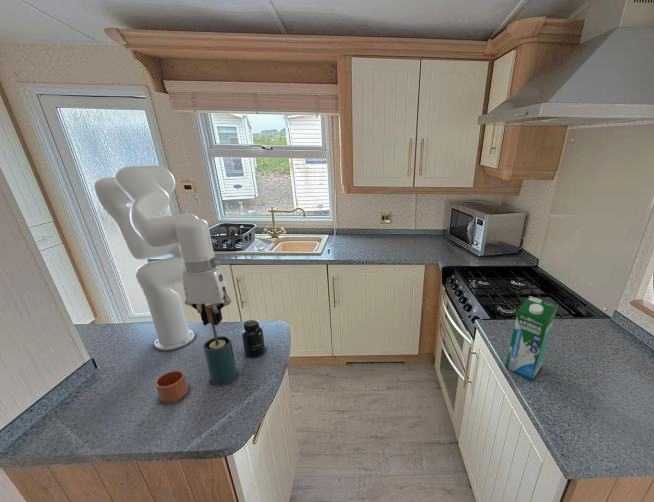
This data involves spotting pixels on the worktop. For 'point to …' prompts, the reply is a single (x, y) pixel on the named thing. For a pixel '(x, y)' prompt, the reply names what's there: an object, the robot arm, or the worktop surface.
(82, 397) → the worktop surface
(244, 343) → the supplement bottle
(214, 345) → the brush
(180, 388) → the cup
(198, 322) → the worktop surface
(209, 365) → the cup
